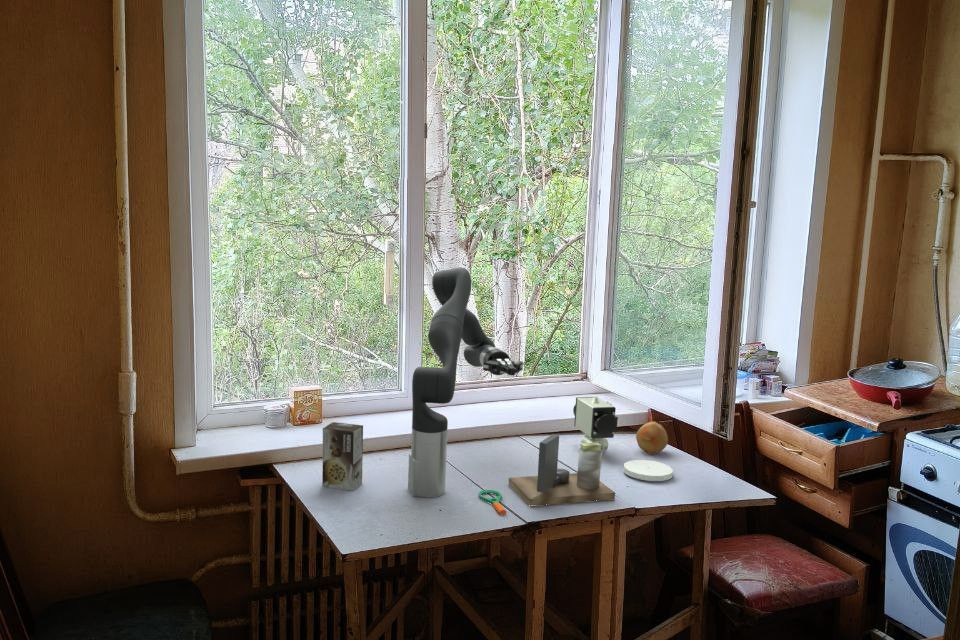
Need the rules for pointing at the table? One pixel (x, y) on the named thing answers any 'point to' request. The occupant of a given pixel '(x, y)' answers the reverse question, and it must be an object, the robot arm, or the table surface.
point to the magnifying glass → (493, 500)
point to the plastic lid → (648, 470)
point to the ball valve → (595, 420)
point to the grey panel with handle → (550, 465)
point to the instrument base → (578, 487)
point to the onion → (652, 438)
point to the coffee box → (342, 456)
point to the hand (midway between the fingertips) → (512, 371)
